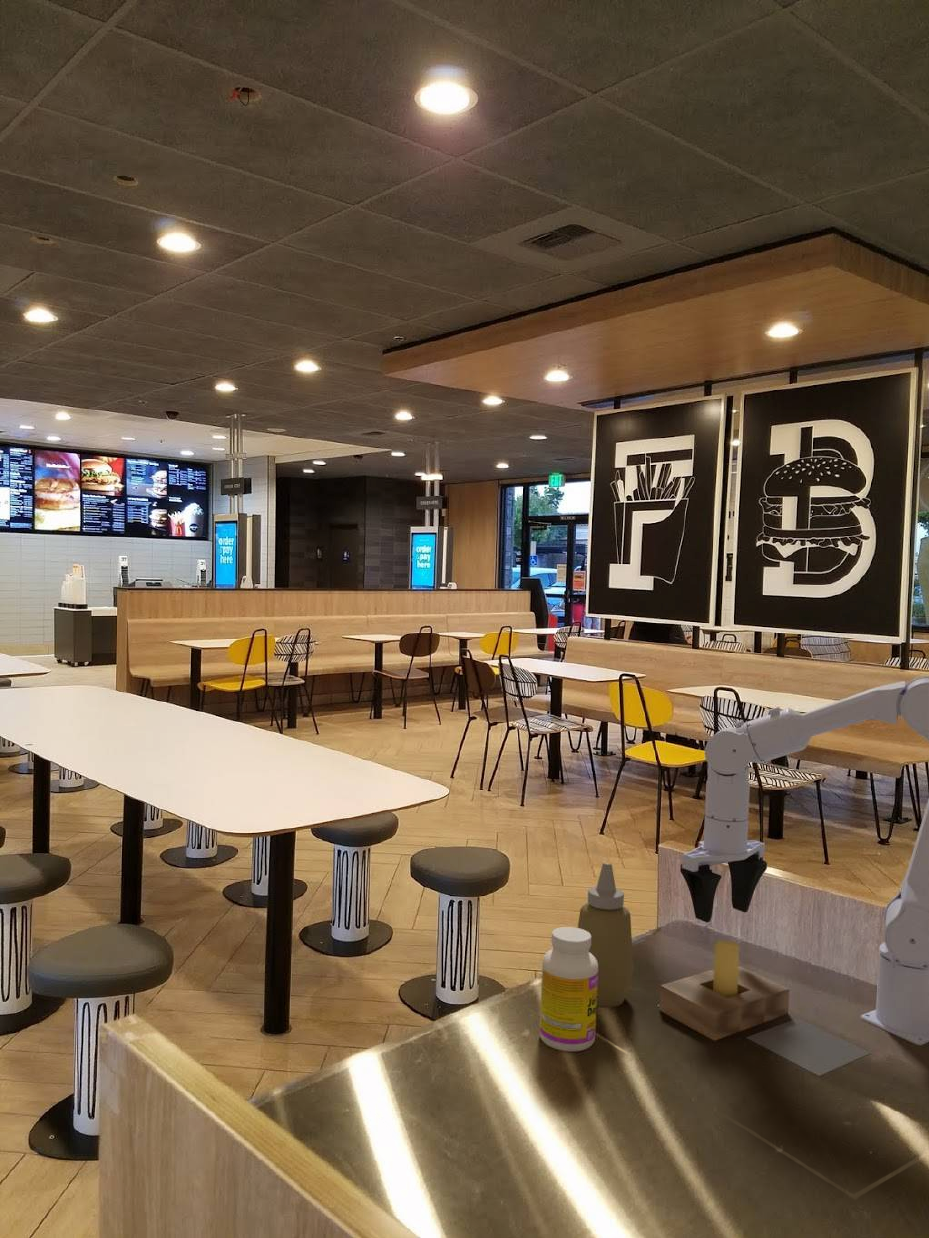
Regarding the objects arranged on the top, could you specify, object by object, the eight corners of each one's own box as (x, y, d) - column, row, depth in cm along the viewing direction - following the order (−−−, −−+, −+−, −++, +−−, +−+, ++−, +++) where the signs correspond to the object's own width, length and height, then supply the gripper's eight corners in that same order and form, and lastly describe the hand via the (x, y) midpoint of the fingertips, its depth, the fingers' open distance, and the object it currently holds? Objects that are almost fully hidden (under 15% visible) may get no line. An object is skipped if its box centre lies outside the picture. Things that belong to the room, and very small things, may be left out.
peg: (722, 1006, 120) (724, 938, 119) (741, 1015, 117) (744, 946, 117) (707, 1012, 118) (709, 943, 118) (726, 1021, 116) (729, 950, 115)
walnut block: (731, 988, 125) (733, 963, 125) (787, 1015, 118) (789, 988, 118) (659, 1012, 118) (660, 985, 117) (714, 1042, 110) (715, 1014, 110)
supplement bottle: (593, 1057, 106) (597, 947, 105) (536, 1049, 107) (540, 941, 106) (596, 1030, 112) (601, 926, 112) (542, 1023, 113) (546, 920, 113)
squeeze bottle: (641, 996, 122) (647, 862, 121) (617, 1019, 115) (624, 878, 114) (586, 980, 126) (591, 851, 125) (560, 1001, 119) (565, 865, 119)
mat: (797, 1020, 117) (798, 1017, 117) (870, 1055, 108) (870, 1052, 108) (746, 1039, 111) (746, 1037, 111) (818, 1078, 103) (818, 1075, 103)
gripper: (738, 804, 132) (733, 897, 133) (667, 815, 124) (662, 914, 125) (779, 815, 127) (774, 912, 127) (707, 828, 118) (702, 931, 119)
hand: (721, 914), depth 126 cm, fingers open, 7 cm apart
